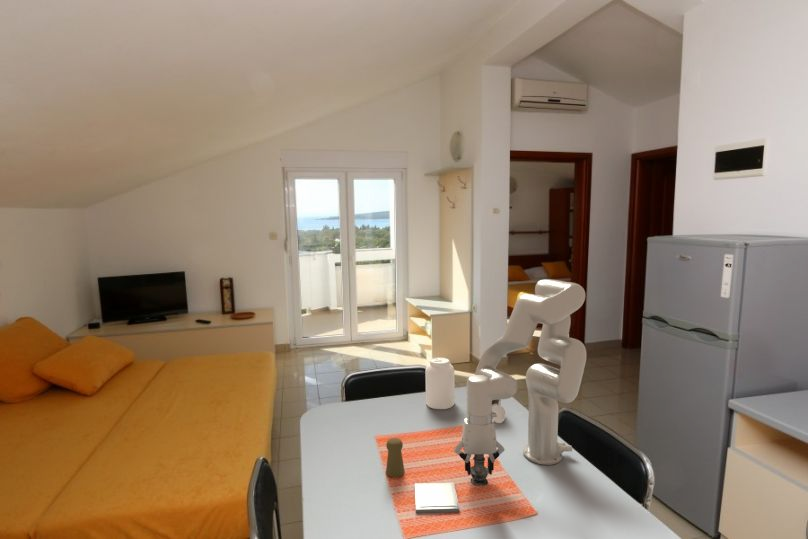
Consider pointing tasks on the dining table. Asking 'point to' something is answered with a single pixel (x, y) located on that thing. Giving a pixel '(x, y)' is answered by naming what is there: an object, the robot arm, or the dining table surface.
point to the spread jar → (498, 411)
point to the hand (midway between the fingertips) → (479, 471)
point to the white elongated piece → (440, 384)
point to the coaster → (436, 498)
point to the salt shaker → (479, 471)
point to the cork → (394, 458)
